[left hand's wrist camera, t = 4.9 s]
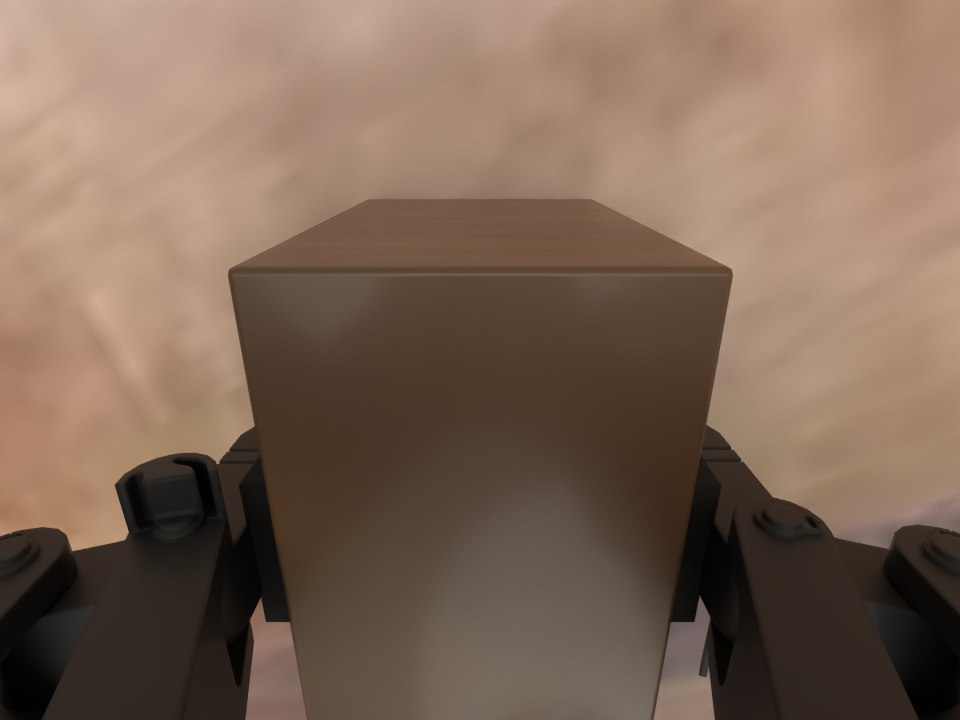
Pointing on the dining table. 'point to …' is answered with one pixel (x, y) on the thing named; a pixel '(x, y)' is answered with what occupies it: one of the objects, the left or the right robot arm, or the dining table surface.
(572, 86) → the dining table surface
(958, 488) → the dining table surface
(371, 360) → the bar
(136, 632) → the left robot arm
